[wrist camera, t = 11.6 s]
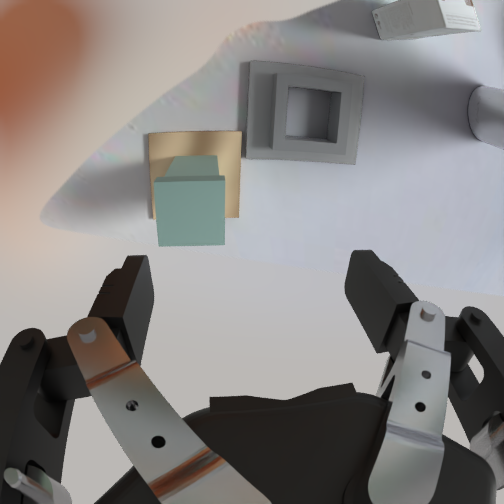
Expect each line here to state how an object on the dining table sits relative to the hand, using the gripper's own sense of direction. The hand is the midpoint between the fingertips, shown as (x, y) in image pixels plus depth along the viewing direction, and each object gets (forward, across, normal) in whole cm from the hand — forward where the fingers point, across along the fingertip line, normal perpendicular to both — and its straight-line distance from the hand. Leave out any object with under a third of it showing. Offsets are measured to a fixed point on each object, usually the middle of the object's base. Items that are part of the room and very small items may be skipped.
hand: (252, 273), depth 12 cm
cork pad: (+23, +4, +2) cm, 24 cm away
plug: (+23, +4, +2) cm, 23 cm away
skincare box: (+24, -20, -19) cm, 36 cm away
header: (+24, -8, -5) cm, 26 cm away
